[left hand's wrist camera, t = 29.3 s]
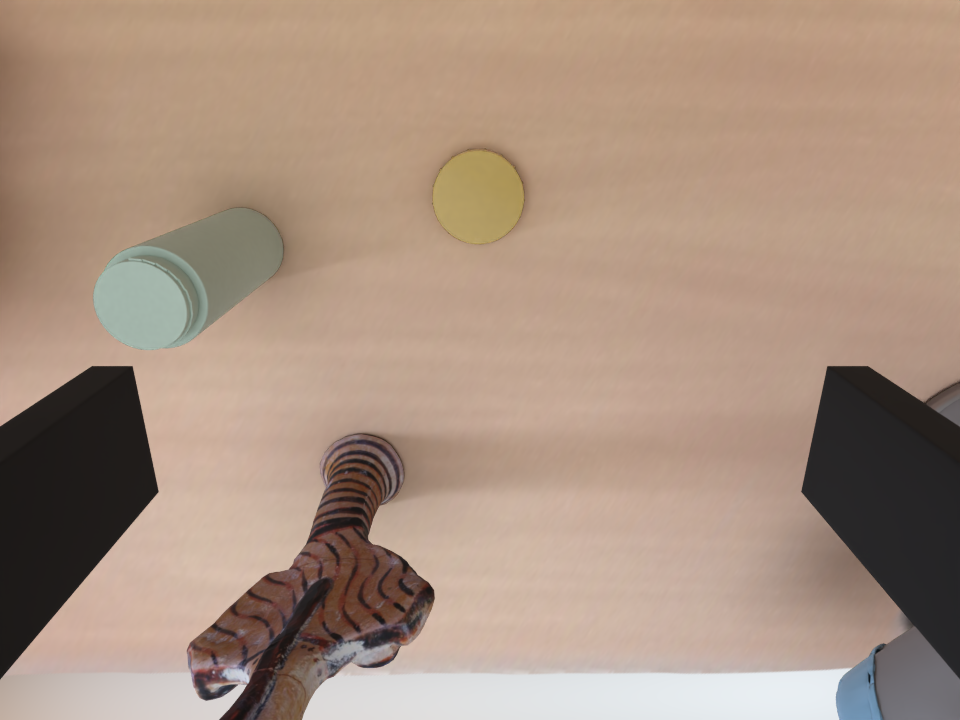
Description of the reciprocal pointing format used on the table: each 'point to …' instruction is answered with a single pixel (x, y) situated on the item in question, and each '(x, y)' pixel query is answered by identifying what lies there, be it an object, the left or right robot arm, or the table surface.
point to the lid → (478, 196)
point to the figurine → (319, 599)
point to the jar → (186, 278)
